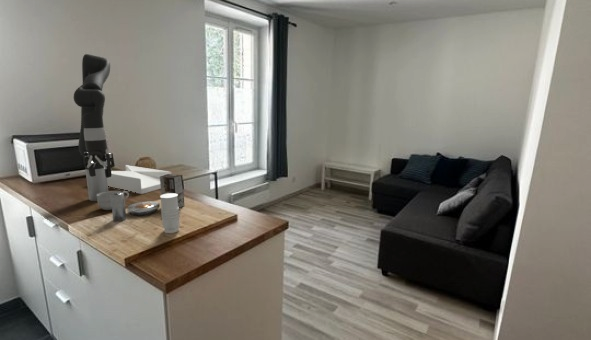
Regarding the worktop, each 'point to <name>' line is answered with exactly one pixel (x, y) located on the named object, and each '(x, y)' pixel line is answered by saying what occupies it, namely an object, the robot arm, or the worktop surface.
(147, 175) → the white paper airplane
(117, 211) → the gray metal canister
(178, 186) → the coffee box
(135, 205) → the round metal dish
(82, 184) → the worktop surface
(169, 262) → the worktop surface
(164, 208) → the candle
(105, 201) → the teacup
